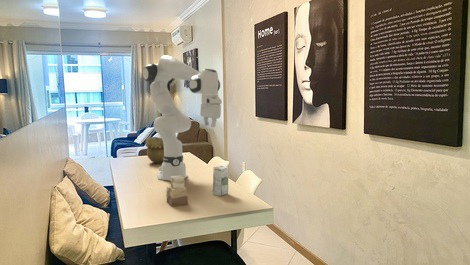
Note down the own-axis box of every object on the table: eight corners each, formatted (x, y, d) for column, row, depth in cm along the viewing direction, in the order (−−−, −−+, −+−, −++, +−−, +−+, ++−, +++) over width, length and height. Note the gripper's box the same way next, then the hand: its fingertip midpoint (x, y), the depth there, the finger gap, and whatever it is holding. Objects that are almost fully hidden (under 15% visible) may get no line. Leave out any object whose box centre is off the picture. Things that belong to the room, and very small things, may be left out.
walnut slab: (166, 202, 171) (166, 194, 171) (182, 200, 175) (182, 192, 175) (171, 207, 164) (171, 198, 164) (187, 205, 168) (187, 196, 167)
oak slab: (166, 194, 170) (166, 186, 170) (180, 192, 174) (179, 184, 174) (172, 198, 164) (172, 190, 164) (186, 196, 168) (186, 188, 168)
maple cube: (170, 186, 170) (170, 176, 169) (180, 185, 172) (180, 175, 172) (174, 189, 166) (174, 178, 165) (184, 187, 168) (184, 177, 167)
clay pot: (155, 159, 281) (154, 134, 279) (179, 161, 274) (178, 135, 272) (139, 164, 262) (139, 137, 260) (164, 166, 255) (164, 138, 252)
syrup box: (220, 192, 190) (220, 165, 188) (228, 194, 186) (228, 166, 184) (212, 194, 185) (212, 166, 184) (221, 196, 181) (221, 168, 180)
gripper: (197, 99, 194) (197, 124, 196) (211, 100, 176) (211, 128, 177) (208, 99, 197) (208, 124, 198) (223, 100, 178) (222, 127, 180)
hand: (209, 126), depth 188 cm, fingers open, 8 cm apart
